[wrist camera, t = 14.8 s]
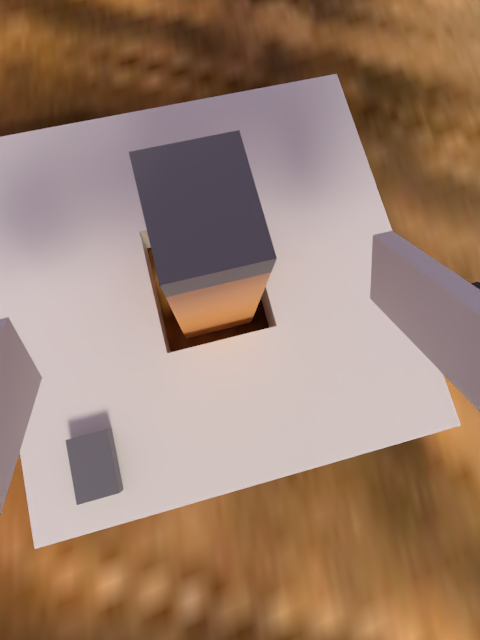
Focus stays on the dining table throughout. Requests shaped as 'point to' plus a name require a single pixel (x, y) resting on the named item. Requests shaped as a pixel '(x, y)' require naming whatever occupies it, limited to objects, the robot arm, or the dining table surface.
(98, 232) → the socket
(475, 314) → the robot arm
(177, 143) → the two-tone grey orange block
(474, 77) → the dining table surface
